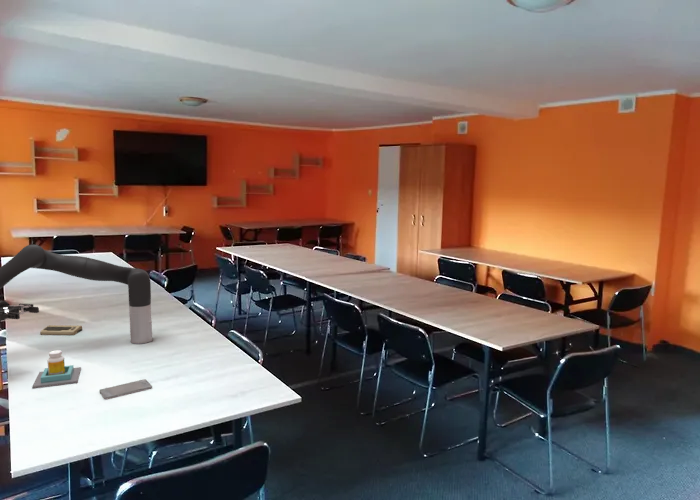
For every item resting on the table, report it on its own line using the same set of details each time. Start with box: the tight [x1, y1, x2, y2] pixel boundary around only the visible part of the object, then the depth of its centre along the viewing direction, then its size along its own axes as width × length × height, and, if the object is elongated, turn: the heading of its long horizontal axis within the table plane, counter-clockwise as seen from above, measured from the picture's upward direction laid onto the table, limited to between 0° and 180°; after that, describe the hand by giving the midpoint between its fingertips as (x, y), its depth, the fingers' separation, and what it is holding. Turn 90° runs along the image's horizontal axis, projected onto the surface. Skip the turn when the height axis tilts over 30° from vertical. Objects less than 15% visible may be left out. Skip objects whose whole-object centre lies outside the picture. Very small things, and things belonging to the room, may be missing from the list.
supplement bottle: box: [46, 349, 66, 376], centre depth 183 cm, size 5×5×10 cm
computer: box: [39, 324, 83, 336], centre depth 235 cm, size 16×8×3 cm, turn 92°
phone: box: [99, 378, 153, 401], centre depth 175 cm, size 8×16×1 cm, turn 129°
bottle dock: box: [31, 364, 82, 389], centre depth 183 cm, size 14×14×3 cm
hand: (28, 313), depth 182 cm, fingers open, 8 cm apart
